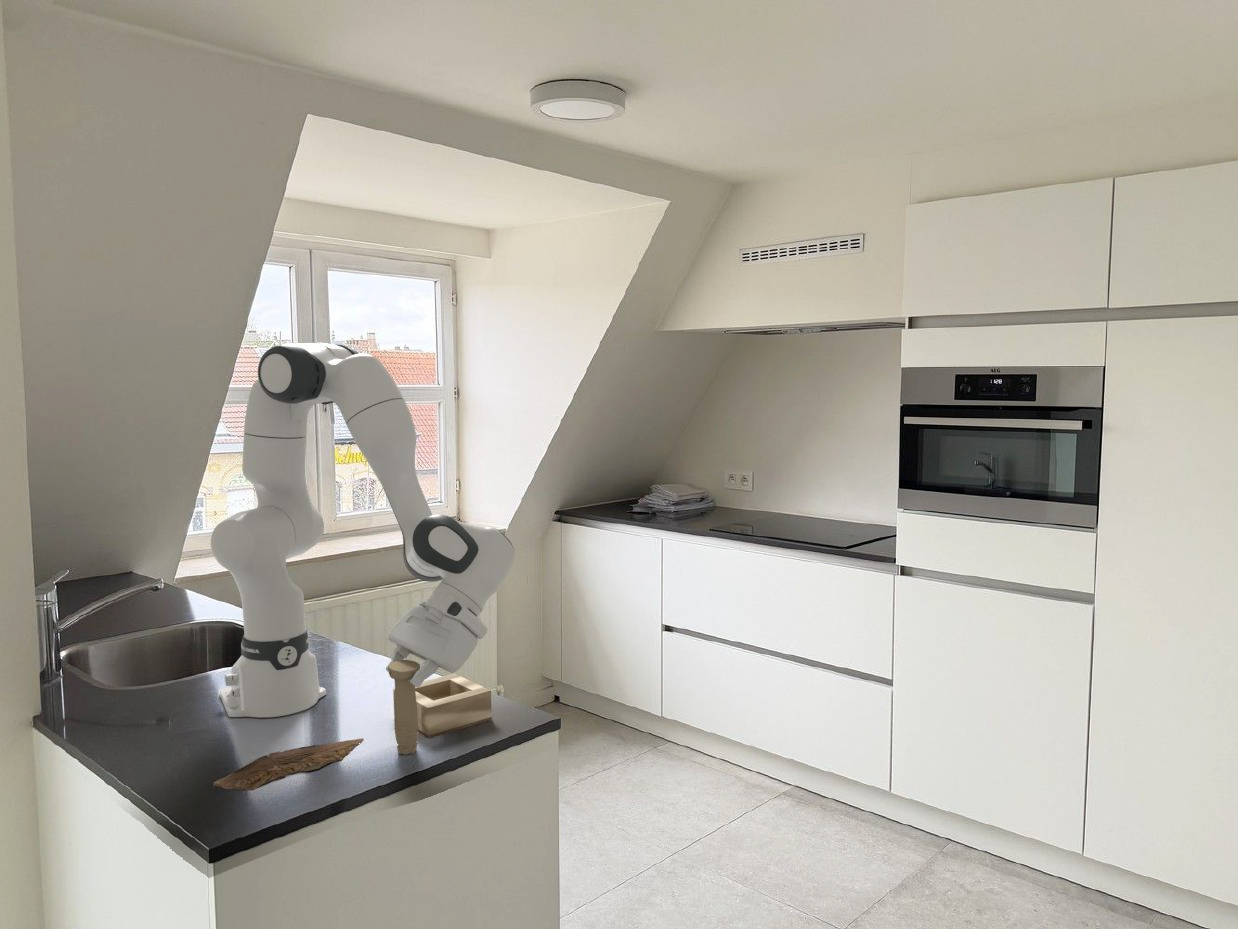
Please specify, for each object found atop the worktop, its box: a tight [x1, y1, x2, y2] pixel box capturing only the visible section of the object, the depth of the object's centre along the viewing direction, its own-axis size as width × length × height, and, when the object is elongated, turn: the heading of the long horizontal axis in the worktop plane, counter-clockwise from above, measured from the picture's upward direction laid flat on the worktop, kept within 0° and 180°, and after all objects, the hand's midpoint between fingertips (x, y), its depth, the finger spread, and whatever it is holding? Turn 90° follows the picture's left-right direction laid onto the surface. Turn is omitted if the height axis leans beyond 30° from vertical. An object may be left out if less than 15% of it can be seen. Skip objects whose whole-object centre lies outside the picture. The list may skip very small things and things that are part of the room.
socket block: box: [392, 673, 493, 739], centre depth 171 cm, size 13×13×6 cm
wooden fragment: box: [212, 738, 365, 791], centre depth 153 cm, size 26×11×1 cm, turn 132°
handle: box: [387, 659, 421, 756], centre depth 156 cm, size 5×6×15 cm
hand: (401, 678), depth 155 cm, fingers closed on handle, 6 cm apart
